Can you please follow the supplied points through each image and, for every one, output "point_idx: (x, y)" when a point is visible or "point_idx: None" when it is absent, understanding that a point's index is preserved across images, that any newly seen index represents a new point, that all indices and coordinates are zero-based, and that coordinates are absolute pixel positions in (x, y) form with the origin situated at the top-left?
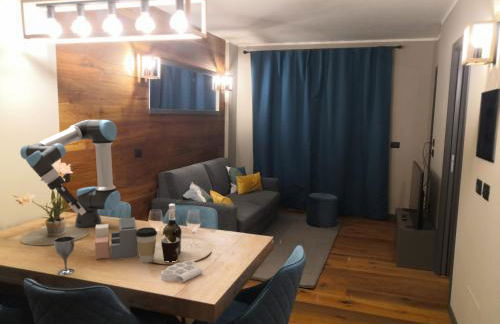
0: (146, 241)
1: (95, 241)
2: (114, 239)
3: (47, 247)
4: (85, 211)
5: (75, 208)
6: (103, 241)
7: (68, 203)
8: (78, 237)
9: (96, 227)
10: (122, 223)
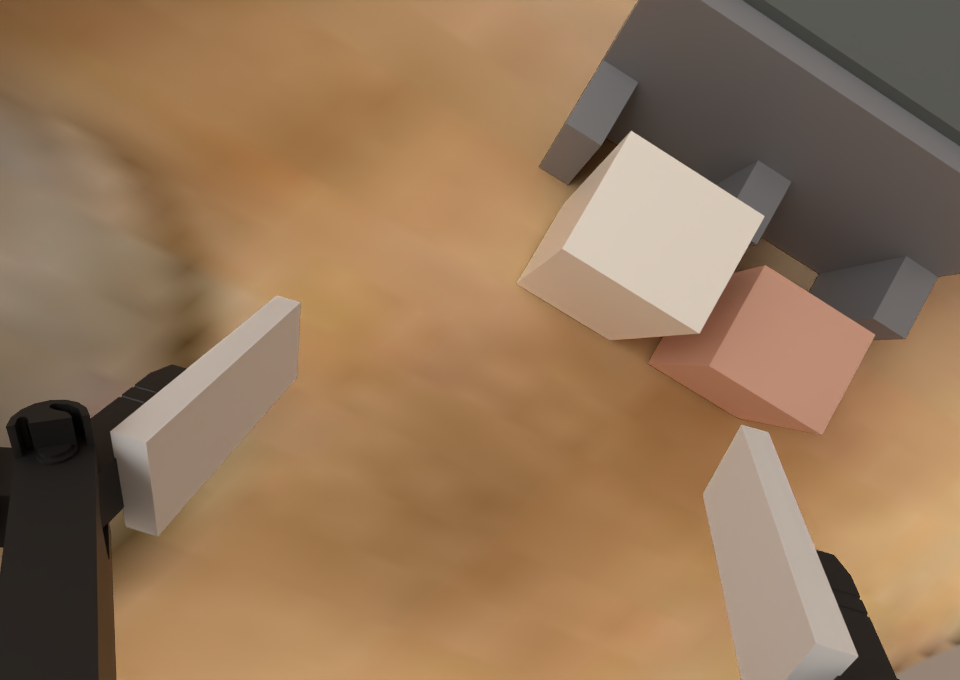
0: None
1: (793, 412)
2: (767, 221)
3: (192, 559)
4: (769, 445)
5: (258, 388)
6: (843, 361)
7: (137, 523)
8: (127, 251)
9: (665, 300)
10: (926, 93)
